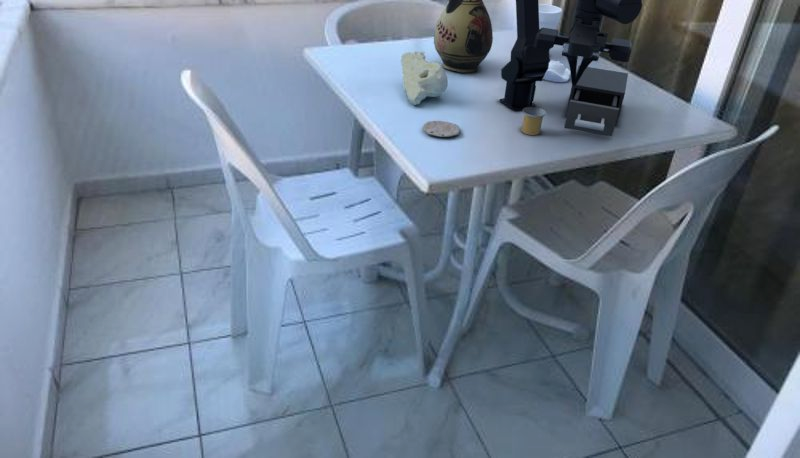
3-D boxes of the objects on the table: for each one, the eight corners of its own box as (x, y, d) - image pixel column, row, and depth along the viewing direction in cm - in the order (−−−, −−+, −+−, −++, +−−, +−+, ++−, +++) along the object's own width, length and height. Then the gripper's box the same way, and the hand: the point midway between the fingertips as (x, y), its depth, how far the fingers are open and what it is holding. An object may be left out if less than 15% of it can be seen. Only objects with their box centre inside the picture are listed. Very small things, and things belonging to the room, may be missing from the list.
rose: (546, 68, 163) (528, 55, 171) (543, 84, 166) (525, 71, 173) (580, 65, 166) (560, 53, 174) (576, 82, 169) (557, 69, 176)
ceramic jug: (473, 55, 182) (486, -59, 165) (498, 74, 170) (515, -46, 154) (417, 59, 177) (425, -58, 160) (439, 79, 165) (450, -45, 148)
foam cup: (555, 60, 182) (564, 14, 175) (523, 58, 182) (531, 12, 175) (549, 49, 190) (558, 4, 183) (518, 47, 190) (525, 2, 182)
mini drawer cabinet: (616, 126, 146) (625, 93, 142) (565, 117, 149) (572, 84, 145) (619, 105, 157) (628, 73, 153) (572, 96, 160) (578, 65, 155)
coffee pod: (528, 137, 139) (532, 117, 136) (514, 128, 143) (518, 108, 140) (546, 134, 141) (550, 113, 138) (532, 125, 145) (536, 105, 142)
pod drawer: (610, 146, 136) (617, 118, 132) (561, 136, 138) (566, 109, 135) (615, 115, 149) (622, 89, 146) (570, 107, 152) (576, 82, 148)
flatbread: (418, 134, 137) (418, 130, 137) (429, 120, 143) (429, 116, 143) (454, 141, 135) (455, 137, 135) (464, 128, 141) (464, 123, 141)
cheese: (444, 118, 150) (466, 64, 154) (427, 100, 145) (450, 45, 149) (396, 117, 160) (418, 67, 164) (379, 101, 155) (401, 49, 159)
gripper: (537, 12, 121) (523, 90, 130) (639, 27, 117) (617, 107, 126) (545, -2, 130) (531, 72, 139) (640, 11, 126) (620, 87, 134)
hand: (574, 84), depth 134 cm, fingers closed
